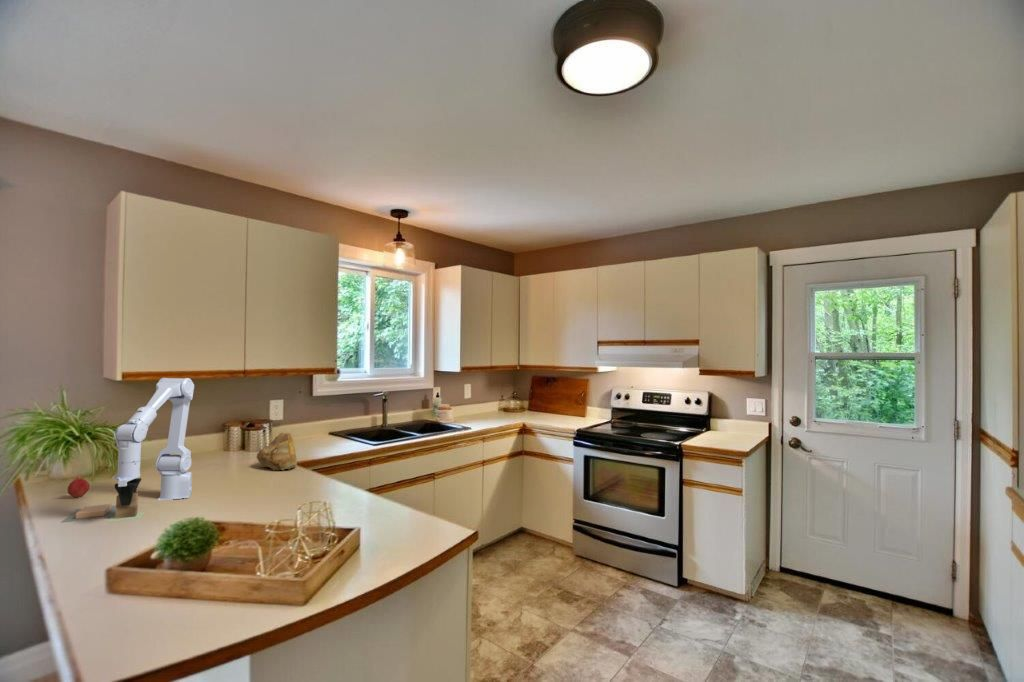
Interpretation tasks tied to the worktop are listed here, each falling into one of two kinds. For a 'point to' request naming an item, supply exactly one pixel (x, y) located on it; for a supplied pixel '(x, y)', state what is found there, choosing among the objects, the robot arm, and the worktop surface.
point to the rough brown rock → (279, 453)
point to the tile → (93, 511)
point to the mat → (73, 517)
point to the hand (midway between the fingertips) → (127, 503)
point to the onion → (78, 487)
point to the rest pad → (126, 517)
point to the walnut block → (127, 507)
